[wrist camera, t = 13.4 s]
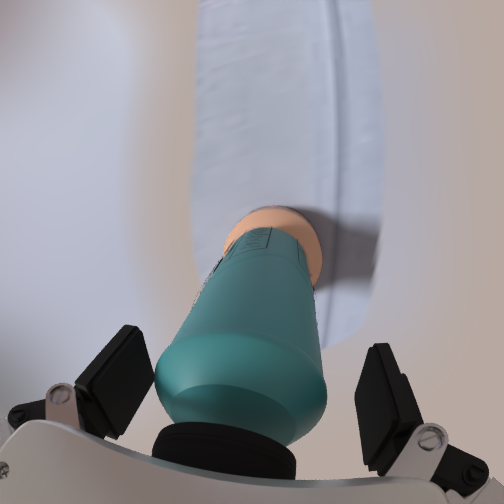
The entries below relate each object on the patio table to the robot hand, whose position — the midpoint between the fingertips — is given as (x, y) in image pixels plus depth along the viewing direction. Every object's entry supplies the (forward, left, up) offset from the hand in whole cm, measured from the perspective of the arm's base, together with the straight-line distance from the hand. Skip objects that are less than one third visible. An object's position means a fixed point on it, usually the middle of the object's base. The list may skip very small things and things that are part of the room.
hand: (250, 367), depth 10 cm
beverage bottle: (0, 0, -14) cm, 14 cm away
